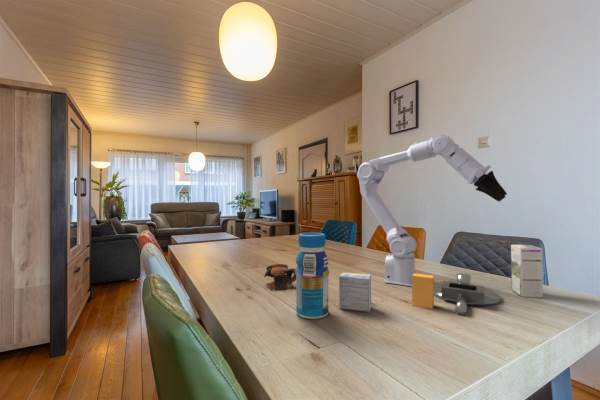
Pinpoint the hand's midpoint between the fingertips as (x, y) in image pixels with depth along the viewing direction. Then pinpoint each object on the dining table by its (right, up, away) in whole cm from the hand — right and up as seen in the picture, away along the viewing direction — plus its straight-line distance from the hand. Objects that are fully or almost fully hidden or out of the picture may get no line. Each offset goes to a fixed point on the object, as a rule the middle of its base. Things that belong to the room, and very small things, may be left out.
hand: (502, 198), depth 80 cm
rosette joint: (-10, -29, +2) cm, 31 cm away
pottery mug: (-63, -29, +15) cm, 71 cm away
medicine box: (-42, -29, -4) cm, 52 cm away
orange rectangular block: (-24, -29, -3) cm, 37 cm away
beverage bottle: (-54, -29, -8) cm, 62 cm away
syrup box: (+11, -29, +5) cm, 31 cm away
